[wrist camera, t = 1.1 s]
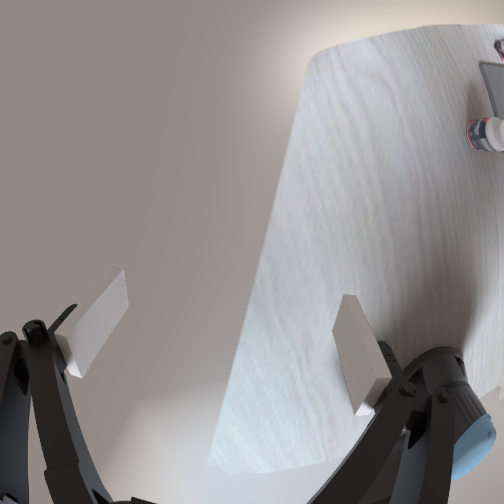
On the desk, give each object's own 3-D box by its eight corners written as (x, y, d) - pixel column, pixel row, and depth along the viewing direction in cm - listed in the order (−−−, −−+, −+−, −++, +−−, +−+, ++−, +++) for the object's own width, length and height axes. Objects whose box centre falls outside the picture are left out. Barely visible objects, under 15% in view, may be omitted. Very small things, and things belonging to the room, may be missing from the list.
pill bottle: (472, 114, 31) (503, 107, 23) (491, 136, 31) (523, 134, 23) (461, 136, 33) (493, 131, 24) (480, 158, 33) (512, 158, 25)
